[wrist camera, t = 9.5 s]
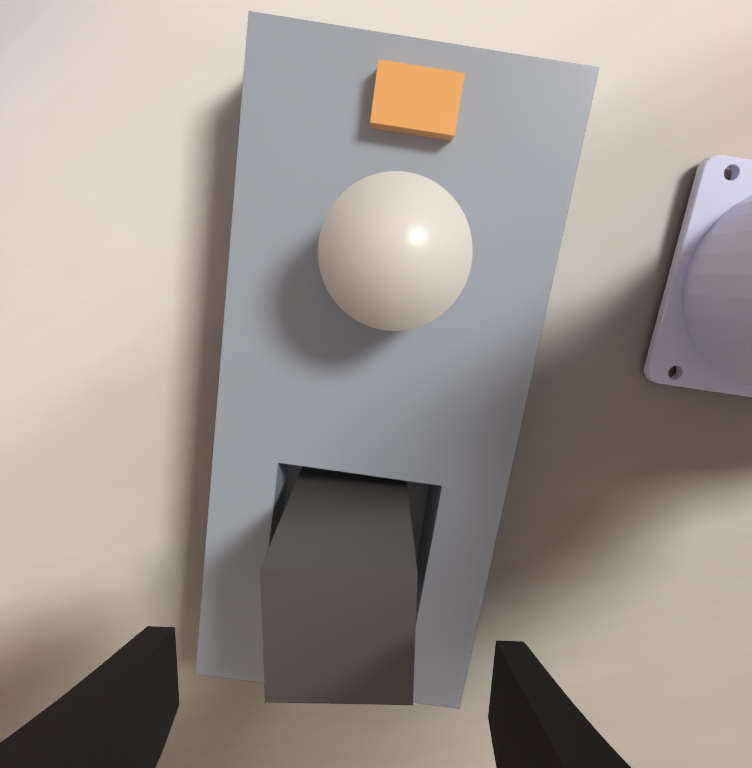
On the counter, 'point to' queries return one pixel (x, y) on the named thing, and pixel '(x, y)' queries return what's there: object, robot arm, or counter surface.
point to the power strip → (369, 369)
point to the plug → (341, 593)
